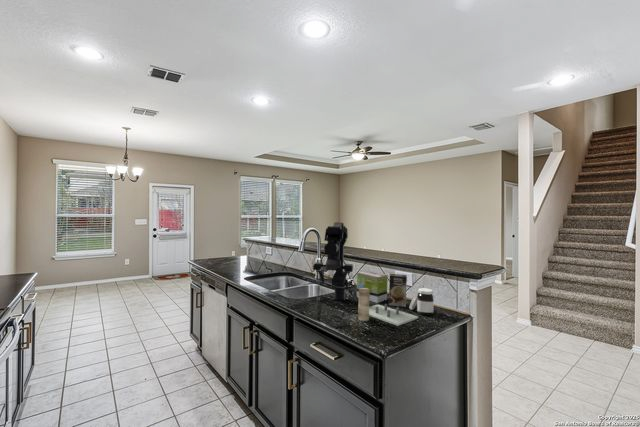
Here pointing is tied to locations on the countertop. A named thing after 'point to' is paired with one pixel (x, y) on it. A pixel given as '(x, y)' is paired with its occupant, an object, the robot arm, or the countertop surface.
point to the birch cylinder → (363, 304)
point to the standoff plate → (390, 315)
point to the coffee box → (397, 290)
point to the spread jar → (423, 302)
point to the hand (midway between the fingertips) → (332, 284)
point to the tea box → (373, 285)
